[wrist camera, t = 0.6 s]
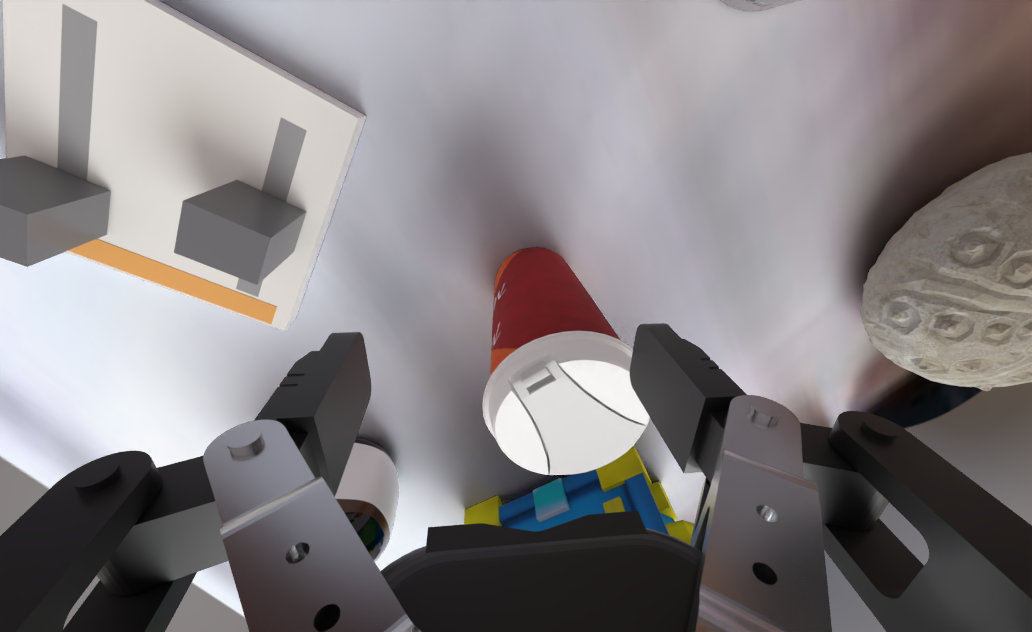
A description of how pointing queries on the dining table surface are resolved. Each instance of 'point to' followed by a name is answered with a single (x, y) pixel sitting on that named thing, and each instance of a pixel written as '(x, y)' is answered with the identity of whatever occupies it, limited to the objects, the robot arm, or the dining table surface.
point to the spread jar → (370, 495)
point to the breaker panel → (172, 136)
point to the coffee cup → (557, 371)
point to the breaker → (47, 210)
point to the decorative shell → (960, 283)
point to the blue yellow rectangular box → (588, 500)
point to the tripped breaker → (238, 230)
